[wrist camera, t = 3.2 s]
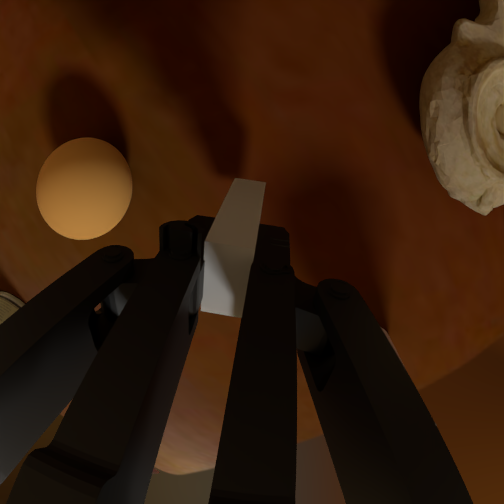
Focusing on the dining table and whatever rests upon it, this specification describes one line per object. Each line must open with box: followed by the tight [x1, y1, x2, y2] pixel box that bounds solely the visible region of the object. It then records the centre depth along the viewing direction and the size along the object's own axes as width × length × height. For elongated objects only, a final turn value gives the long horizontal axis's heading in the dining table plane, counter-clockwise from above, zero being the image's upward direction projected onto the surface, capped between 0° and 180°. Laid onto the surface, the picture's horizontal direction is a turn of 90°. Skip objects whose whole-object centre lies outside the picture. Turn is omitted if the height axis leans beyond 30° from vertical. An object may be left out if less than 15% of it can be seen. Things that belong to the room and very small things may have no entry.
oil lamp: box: [419, 0, 504, 215], centre depth 10 cm, size 11×14×5 cm
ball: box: [36, 137, 132, 240], centre depth 15 cm, size 6×6×6 cm
